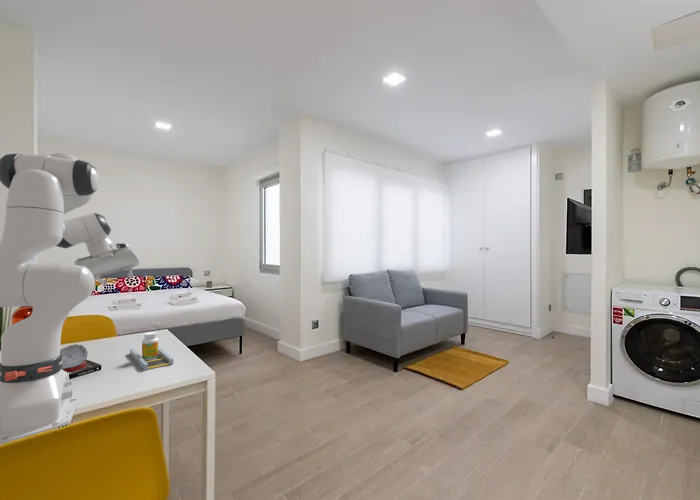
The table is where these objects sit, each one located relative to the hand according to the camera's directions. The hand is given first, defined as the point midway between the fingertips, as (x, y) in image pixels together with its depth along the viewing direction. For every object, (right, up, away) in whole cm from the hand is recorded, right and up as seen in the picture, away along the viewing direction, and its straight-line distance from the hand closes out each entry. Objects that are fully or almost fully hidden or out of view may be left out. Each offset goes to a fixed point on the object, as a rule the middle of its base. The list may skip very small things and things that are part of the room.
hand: (118, 280), depth 133 cm
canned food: (-3, -30, -21) cm, 36 cm away
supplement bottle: (+17, -30, -6) cm, 35 cm away
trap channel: (+17, -30, -7) cm, 35 cm away
